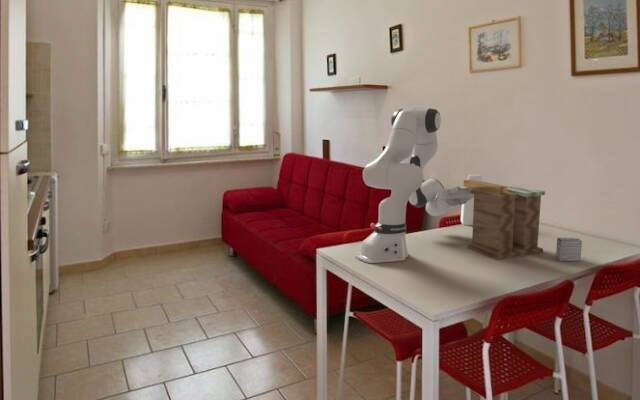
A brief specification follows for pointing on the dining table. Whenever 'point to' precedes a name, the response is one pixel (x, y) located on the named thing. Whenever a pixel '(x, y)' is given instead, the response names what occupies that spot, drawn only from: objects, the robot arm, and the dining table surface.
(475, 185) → the oak bar
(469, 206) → the milk
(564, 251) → the medicine box
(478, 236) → the twin stand
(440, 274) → the dining table surface
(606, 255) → the dining table surface
